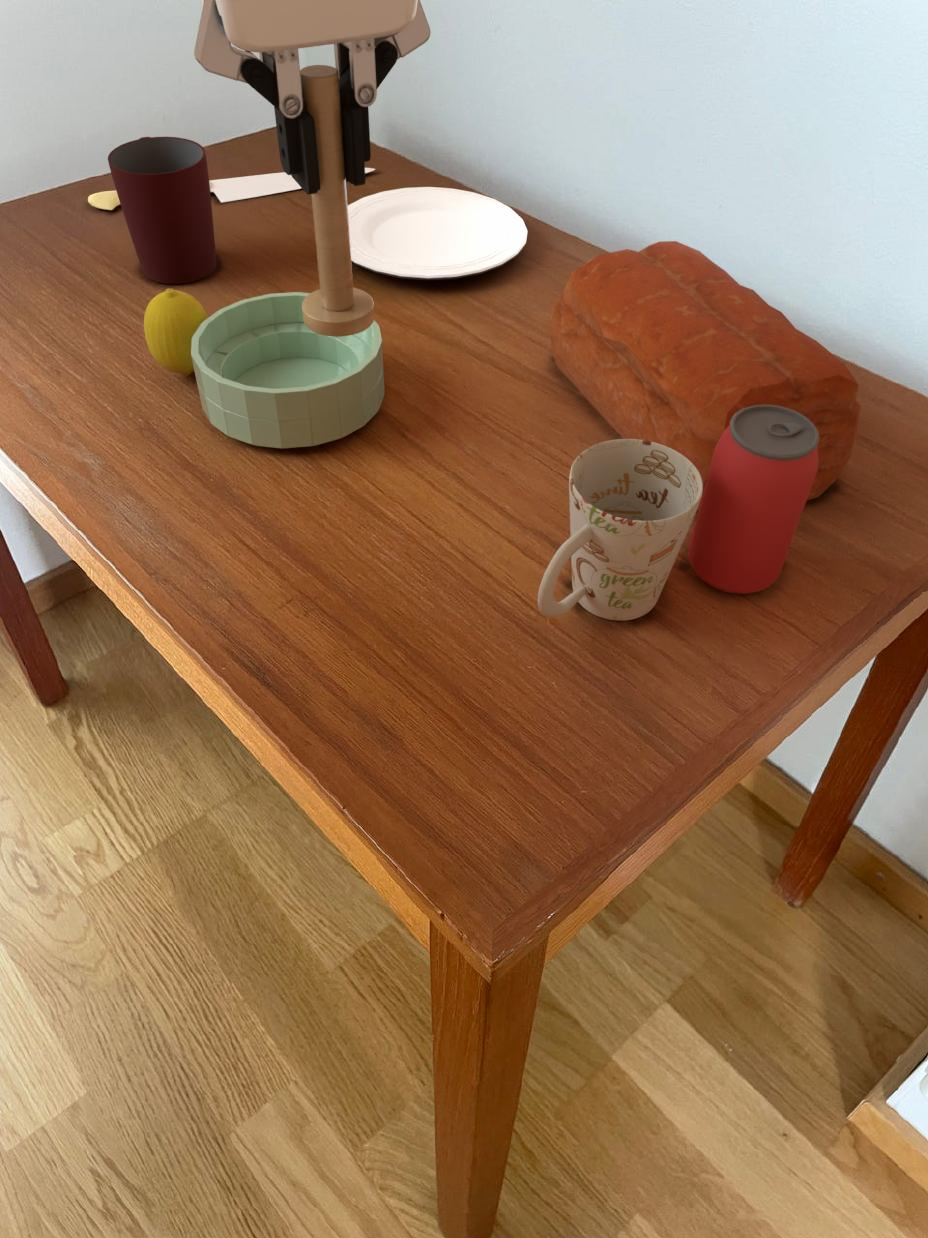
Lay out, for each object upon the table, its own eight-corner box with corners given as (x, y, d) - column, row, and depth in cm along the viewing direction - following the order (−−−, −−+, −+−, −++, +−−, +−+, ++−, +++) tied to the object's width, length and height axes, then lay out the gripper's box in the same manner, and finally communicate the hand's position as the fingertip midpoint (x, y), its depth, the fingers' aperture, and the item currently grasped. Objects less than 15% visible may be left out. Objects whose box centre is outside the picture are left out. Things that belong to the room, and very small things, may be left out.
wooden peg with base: (318, 343, 58) (292, 90, 48) (293, 308, 61) (264, 62, 50) (385, 327, 59) (374, 78, 49) (358, 294, 62) (343, 52, 52)
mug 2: (698, 589, 68) (729, 477, 61) (588, 689, 62) (608, 578, 54) (603, 534, 72) (622, 422, 64) (491, 623, 65) (497, 510, 58)
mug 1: (121, 242, 102) (94, 132, 94) (205, 228, 104) (185, 119, 96) (144, 295, 94) (117, 180, 86) (233, 278, 97) (215, 165, 89)
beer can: (796, 588, 68) (848, 451, 59) (711, 606, 67) (753, 468, 58) (751, 528, 72) (794, 392, 64) (671, 544, 71) (704, 407, 62)
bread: (675, 323, 93) (697, 214, 85) (860, 486, 76) (908, 369, 68) (531, 356, 88) (540, 244, 80) (695, 538, 72) (726, 419, 64)
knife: (382, 177, 113) (371, 155, 115) (90, 213, 105) (85, 189, 107) (382, 187, 114) (371, 165, 116) (93, 223, 106) (87, 199, 108)
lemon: (213, 392, 83) (196, 307, 77) (148, 391, 83) (127, 305, 77) (224, 358, 87) (209, 274, 81) (163, 356, 87) (143, 272, 81)
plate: (302, 277, 97) (300, 259, 96) (365, 192, 111) (364, 176, 110) (504, 306, 94) (505, 288, 93) (543, 215, 108) (544, 198, 107)
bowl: (237, 476, 75) (225, 411, 71) (182, 378, 85) (168, 315, 80) (413, 426, 80) (412, 363, 76) (343, 338, 90) (338, 277, 85)
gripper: (425, -278, 45) (428, 134, 59) (78, -271, 40) (168, 178, 54) (500, -261, 41) (484, 182, 54) (119, -251, 36) (206, 235, 49)
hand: (327, 177), depth 54 cm, fingers closed on wooden peg with base, 2 cm apart
